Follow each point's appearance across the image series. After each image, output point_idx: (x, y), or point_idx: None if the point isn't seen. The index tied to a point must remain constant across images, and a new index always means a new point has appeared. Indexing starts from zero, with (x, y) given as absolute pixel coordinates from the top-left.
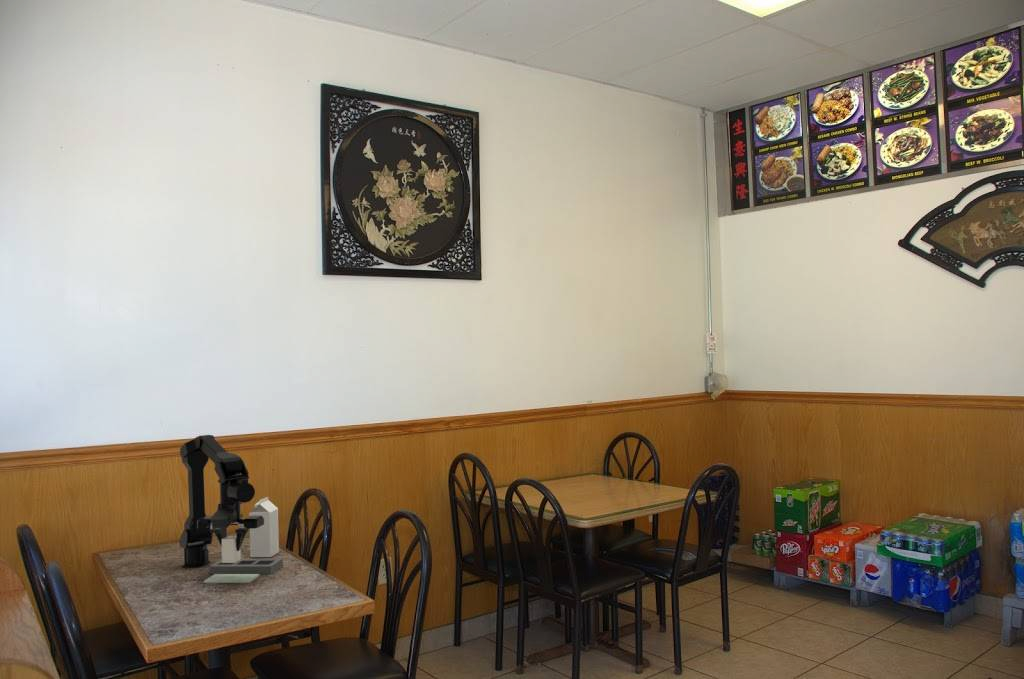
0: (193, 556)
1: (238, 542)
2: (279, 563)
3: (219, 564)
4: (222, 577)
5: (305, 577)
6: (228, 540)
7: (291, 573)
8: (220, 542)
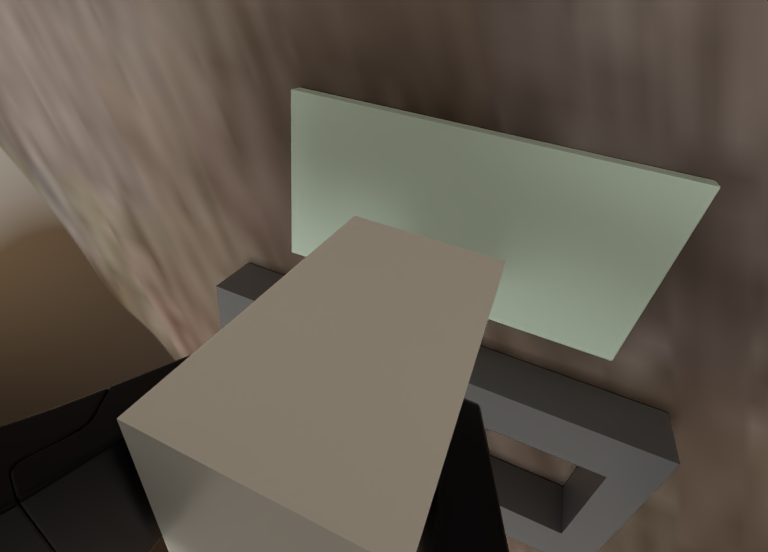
0: None
1: (158, 379)
2: None
3: (589, 489)
4: (533, 248)
5: (60, 144)
6: (255, 451)
7: (162, 244)
8: (484, 537)
